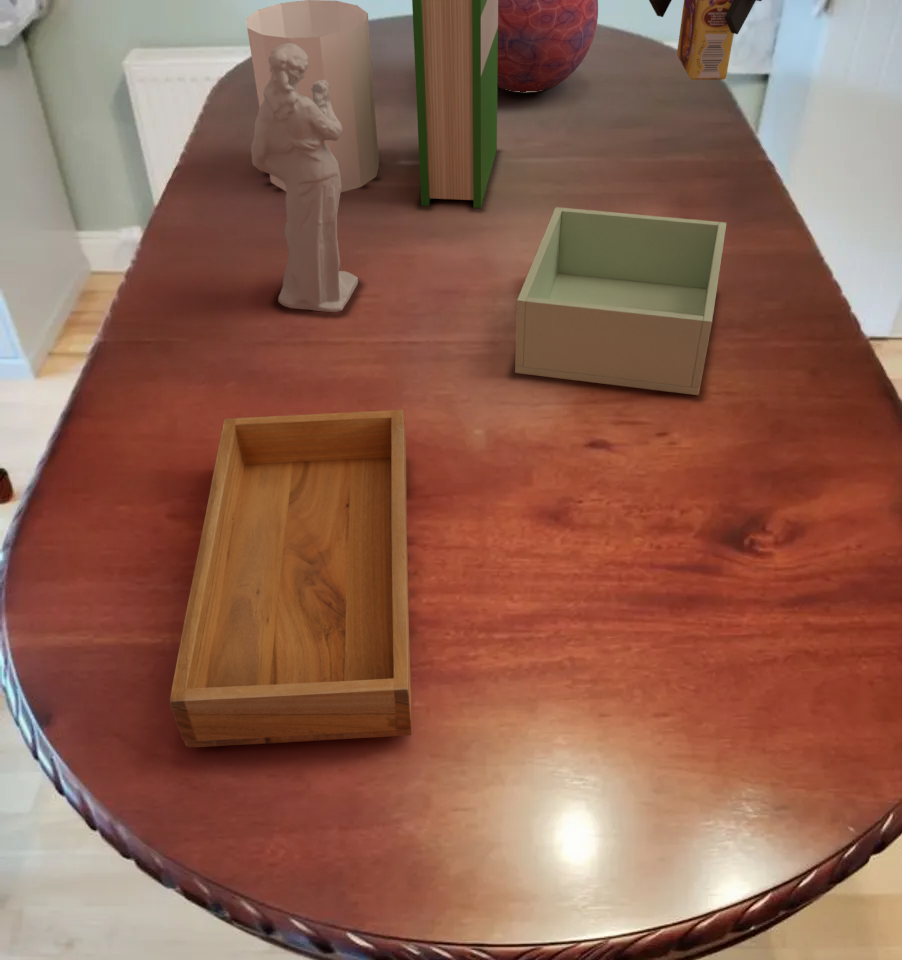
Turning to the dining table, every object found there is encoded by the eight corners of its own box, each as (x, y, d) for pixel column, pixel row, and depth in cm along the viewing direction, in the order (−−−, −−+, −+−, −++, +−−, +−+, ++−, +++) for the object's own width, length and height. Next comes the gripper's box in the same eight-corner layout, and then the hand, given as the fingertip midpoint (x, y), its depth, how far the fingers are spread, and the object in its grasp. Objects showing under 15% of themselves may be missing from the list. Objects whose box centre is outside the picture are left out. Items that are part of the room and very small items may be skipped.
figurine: (342, 263, 113) (315, 17, 95) (375, 302, 107) (353, 47, 89) (262, 282, 111) (219, 34, 93) (291, 323, 104) (251, 65, 86)
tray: (234, 467, 88) (222, 413, 84) (406, 459, 88) (403, 405, 84) (186, 755, 66) (166, 701, 62) (413, 743, 67) (409, 689, 63)
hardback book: (480, 208, 122) (480, -15, 105) (421, 205, 123) (411, -16, 106) (496, 149, 134) (498, -59, 117) (442, 148, 135) (436, -60, 118)
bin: (713, 292, 107) (726, 222, 101) (698, 395, 94) (712, 321, 88) (551, 276, 110) (555, 206, 105) (514, 373, 97) (516, 300, 91)
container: (389, 152, 135) (379, 1, 122) (364, 198, 125) (351, 40, 112) (286, 146, 137) (266, -2, 124) (254, 191, 127) (228, 36, 114)
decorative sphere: (610, 106, 144) (624, -56, 130) (476, 120, 142) (474, -43, 127) (569, 60, 158) (578, -90, 144) (446, 73, 155) (442, -79, 141)
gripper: (908, -155, 100) (790, 59, 104) (724, -176, 111) (623, 19, 115) (898, -216, 94) (773, 14, 98) (704, -232, 105) (598, -24, 108)
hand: (692, 17), depth 106 cm, fingers closed on candy box, 9 cm apart
